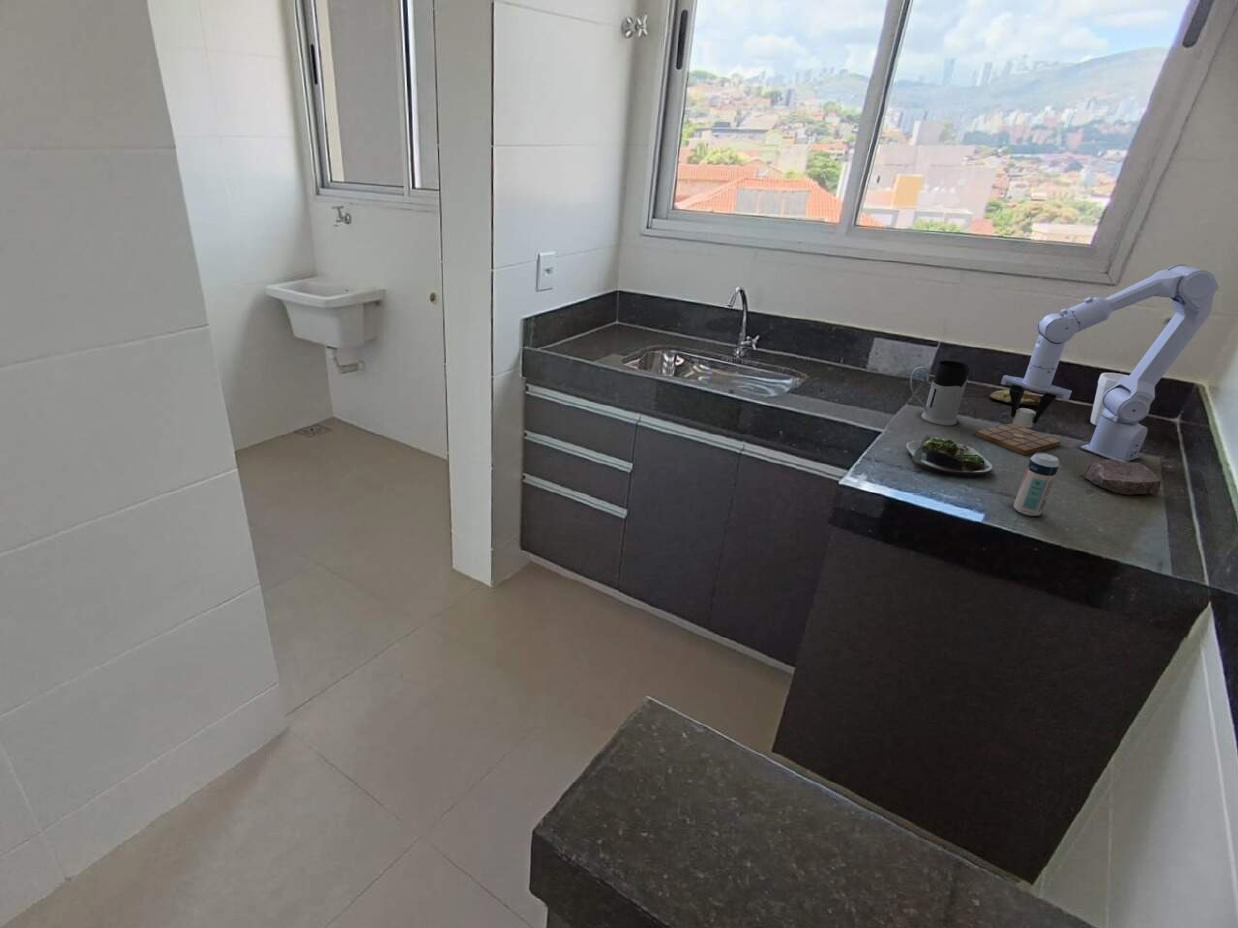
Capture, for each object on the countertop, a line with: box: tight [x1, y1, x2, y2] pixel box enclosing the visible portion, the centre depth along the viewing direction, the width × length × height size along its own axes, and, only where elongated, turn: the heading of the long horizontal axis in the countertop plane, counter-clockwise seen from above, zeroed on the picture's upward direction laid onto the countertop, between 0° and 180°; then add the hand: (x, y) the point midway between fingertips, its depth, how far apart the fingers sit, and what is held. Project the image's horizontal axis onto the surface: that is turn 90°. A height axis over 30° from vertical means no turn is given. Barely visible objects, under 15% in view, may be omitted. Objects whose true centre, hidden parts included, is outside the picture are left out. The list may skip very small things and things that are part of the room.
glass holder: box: [909, 360, 971, 426], centre depth 172 cm, size 9×14×15 cm, turn 83°
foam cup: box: [1089, 372, 1129, 426], centre depth 175 cm, size 10×9×13 cm
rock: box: [989, 389, 1041, 406], centre depth 190 cm, size 13×10×4 cm
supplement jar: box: [1013, 452, 1060, 517], centre depth 127 cm, size 5×5×12 cm
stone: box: [1084, 459, 1162, 495], centre depth 142 cm, size 9×12×5 cm
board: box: [976, 422, 1061, 456], centre depth 164 cm, size 13×15×1 cm
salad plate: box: [906, 434, 994, 479], centre depth 150 cm, size 19×18×5 cm
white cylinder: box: [1012, 407, 1037, 429], centre depth 161 cm, size 4×4×4 cm
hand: (1024, 419), depth 162 cm, fingers closed on white cylinder, 4 cm apart
